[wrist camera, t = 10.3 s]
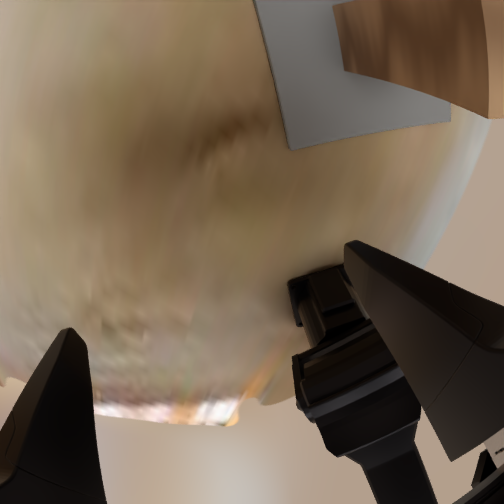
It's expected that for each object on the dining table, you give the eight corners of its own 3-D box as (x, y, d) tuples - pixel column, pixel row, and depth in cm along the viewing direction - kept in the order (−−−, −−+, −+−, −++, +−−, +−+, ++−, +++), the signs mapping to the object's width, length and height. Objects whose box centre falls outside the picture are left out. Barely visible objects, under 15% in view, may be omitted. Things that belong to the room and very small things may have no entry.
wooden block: (401, 67, 16) (545, 117, 7) (344, 70, 17) (488, 118, 7) (392, 3, 13) (541, 10, 4) (331, 2, 14) (477, -19, 4)
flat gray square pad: (446, 119, 20) (450, 121, 19) (288, 148, 20) (290, 151, 20) (425, -41, 11) (429, -41, 11) (239, -46, 11) (240, -49, 11)
